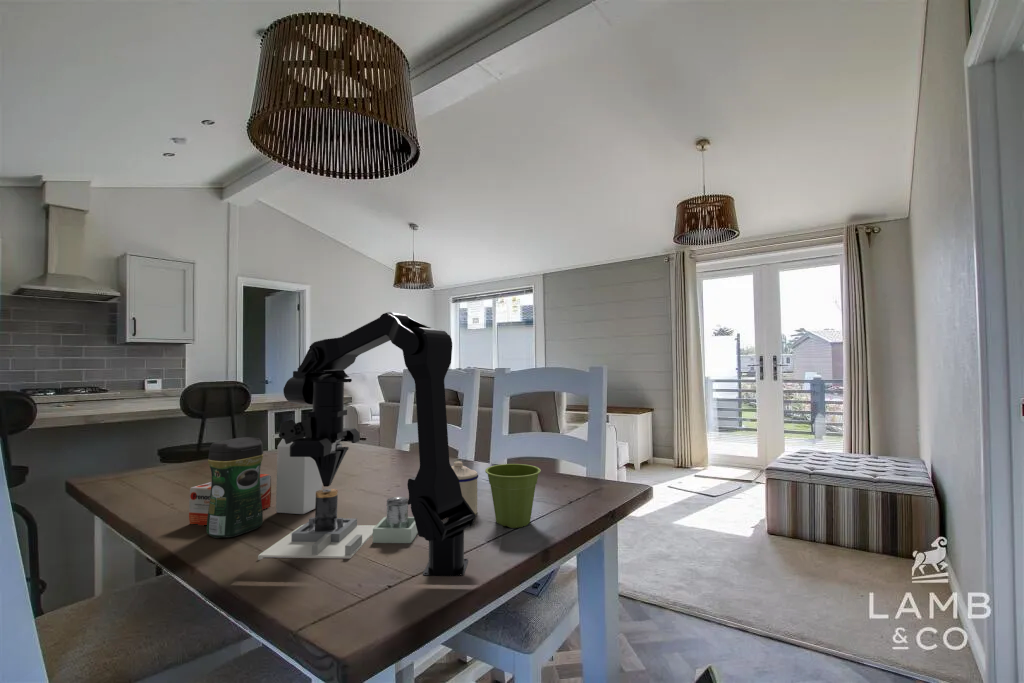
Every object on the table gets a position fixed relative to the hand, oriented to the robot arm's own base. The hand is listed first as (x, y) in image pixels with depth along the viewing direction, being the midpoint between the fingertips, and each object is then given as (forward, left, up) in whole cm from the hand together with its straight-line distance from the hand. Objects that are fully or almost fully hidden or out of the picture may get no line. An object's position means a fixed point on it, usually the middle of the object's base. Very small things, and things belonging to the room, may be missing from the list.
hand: (326, 486), depth 94 cm
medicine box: (+13, +27, -10) cm, 32 cm away
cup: (0, -14, -10) cm, 17 cm away
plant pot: (+10, -36, -10) cm, 39 cm away
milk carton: (+18, +14, -10) cm, 25 cm away
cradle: (0, 0, -9) cm, 9 cm away
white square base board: (-3, -1, -10) cm, 10 cm away
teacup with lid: (+16, -22, -10) cm, 29 cm away
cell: (0, 0, -8) cm, 8 cm away
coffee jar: (+3, +20, -10) cm, 23 cm away
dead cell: (0, -14, -9) cm, 17 cm away
